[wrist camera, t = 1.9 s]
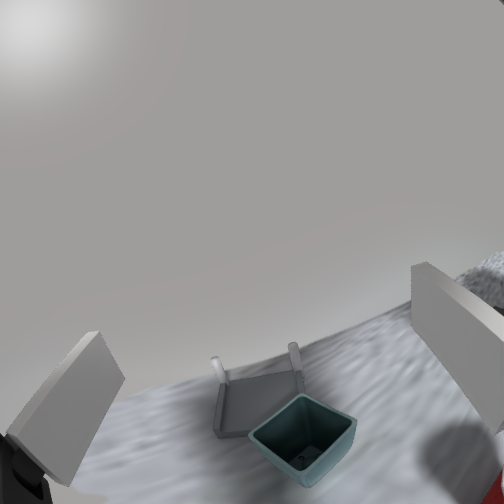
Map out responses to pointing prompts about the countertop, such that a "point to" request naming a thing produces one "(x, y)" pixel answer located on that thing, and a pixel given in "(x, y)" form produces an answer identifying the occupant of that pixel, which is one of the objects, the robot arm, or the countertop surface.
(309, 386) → the countertop surface
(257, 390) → the tray
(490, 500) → the plastic cup
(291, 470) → the flower pot
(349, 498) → the countertop surface
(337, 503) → the countertop surface
